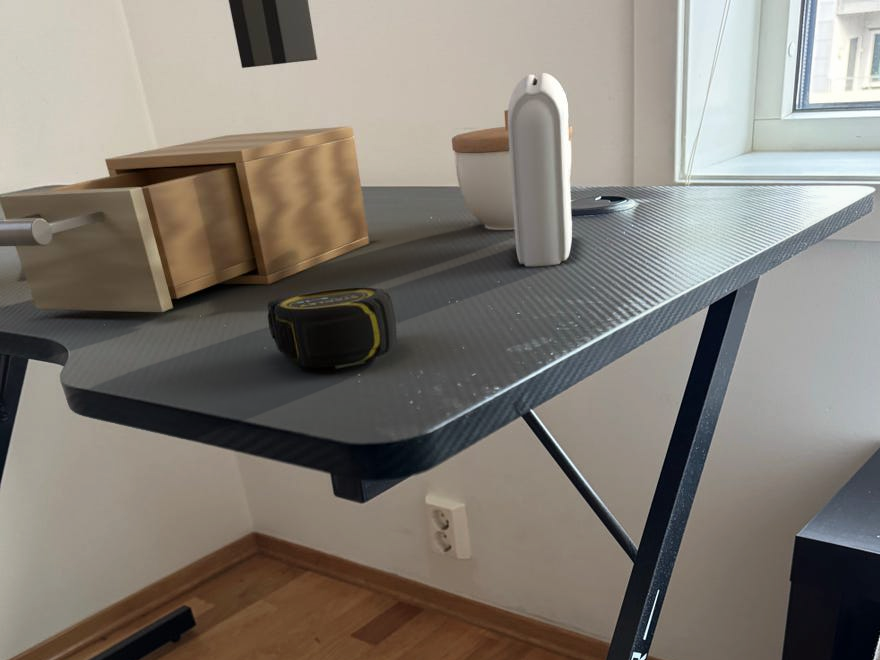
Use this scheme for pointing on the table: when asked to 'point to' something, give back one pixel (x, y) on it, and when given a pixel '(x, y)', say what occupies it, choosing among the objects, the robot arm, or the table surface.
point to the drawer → (130, 238)
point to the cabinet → (281, 193)
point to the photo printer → (540, 171)
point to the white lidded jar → (488, 174)
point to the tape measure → (333, 326)
